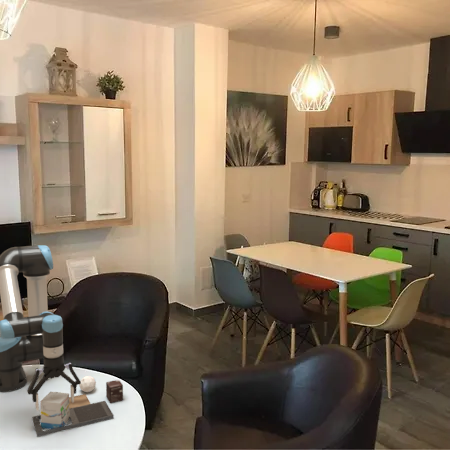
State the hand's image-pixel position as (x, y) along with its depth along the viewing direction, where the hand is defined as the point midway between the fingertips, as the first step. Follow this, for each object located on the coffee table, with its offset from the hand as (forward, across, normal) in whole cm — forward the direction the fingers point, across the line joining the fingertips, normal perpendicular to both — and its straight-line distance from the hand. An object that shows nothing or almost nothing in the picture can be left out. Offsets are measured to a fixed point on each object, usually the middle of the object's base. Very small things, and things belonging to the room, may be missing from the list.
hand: (55, 405), depth 202 cm
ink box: (+9, 0, 0) cm, 9 cm away
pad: (+8, +11, +12) cm, 19 cm away
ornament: (+8, +18, +22) cm, 29 cm away
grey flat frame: (+8, +7, 0) cm, 11 cm away
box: (+8, +27, +10) cm, 30 cm away
